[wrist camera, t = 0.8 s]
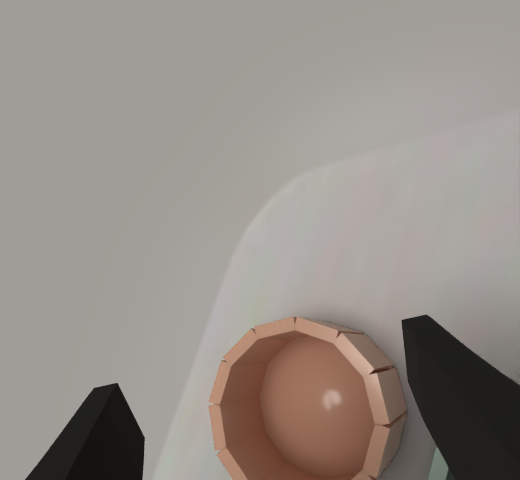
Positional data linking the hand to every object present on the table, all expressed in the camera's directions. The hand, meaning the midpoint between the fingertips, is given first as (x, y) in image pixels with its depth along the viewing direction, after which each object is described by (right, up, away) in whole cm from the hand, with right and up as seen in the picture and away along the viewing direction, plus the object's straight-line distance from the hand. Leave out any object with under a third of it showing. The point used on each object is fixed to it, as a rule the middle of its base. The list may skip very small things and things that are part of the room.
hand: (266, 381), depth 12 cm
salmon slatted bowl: (+3, -5, +13) cm, 15 cm away
